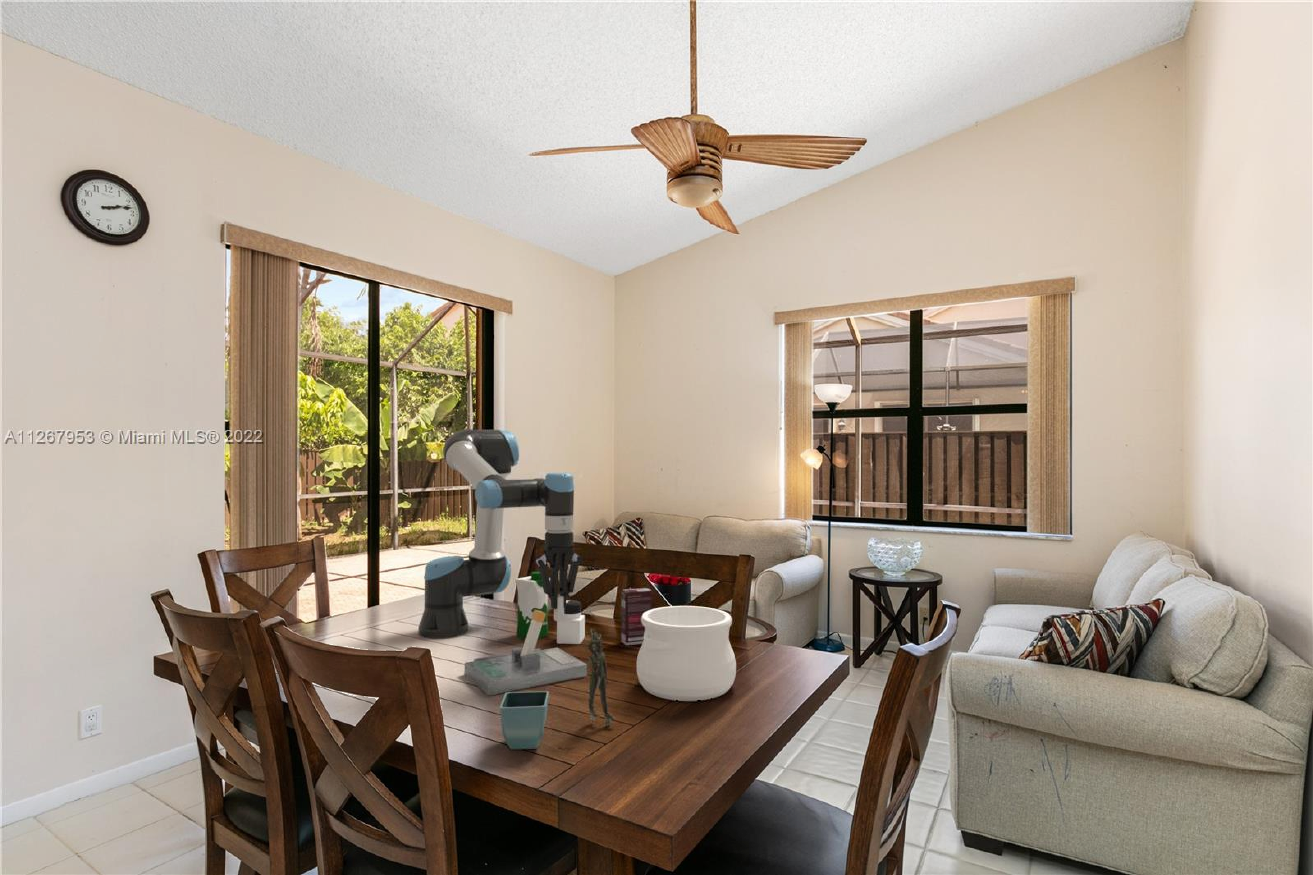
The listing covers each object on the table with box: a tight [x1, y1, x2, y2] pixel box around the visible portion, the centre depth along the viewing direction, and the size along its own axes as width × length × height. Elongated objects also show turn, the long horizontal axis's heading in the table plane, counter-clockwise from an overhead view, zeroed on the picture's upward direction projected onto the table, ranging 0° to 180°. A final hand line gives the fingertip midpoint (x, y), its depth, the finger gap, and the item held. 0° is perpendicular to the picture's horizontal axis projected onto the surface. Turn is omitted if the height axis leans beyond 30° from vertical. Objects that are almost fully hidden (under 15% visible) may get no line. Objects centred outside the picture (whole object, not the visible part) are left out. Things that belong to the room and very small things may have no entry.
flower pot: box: [499, 690, 550, 750], centre depth 136 cm, size 9×9×9 cm
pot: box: [635, 605, 737, 702], centre depth 170 cm, size 26×24×18 cm
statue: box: [588, 628, 616, 727], centre depth 145 cm, size 5×6×20 cm
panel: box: [464, 646, 588, 696], centre depth 178 cm, size 18×26×6 cm
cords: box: [473, 648, 542, 661], centre depth 187 cm, size 5×21×3 cm, turn 123°
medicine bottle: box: [556, 599, 586, 645], centre depth 210 cm, size 7×7×12 cm
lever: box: [520, 610, 546, 659], centre depth 179 cm, size 4×2×13 cm, turn 33°
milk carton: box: [514, 570, 550, 640], centre depth 215 cm, size 9×9×20 cm
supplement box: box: [620, 587, 653, 646], centre depth 209 cm, size 9×5×16 cm, turn 110°
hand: (558, 620), depth 183 cm, fingers closed
